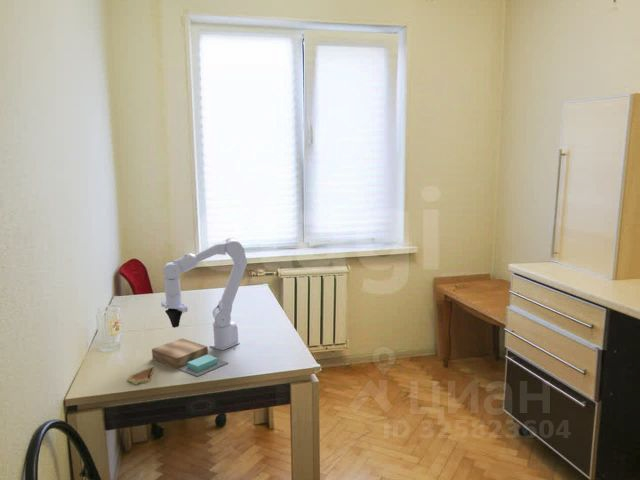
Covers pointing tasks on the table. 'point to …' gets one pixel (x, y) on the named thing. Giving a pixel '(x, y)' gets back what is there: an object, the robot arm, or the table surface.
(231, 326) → the robot arm
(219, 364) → the grey flat slab
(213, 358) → the aqua rectangular block
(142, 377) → the shard
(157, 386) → the table surface
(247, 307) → the table surface
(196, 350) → the brown wooden flat block
